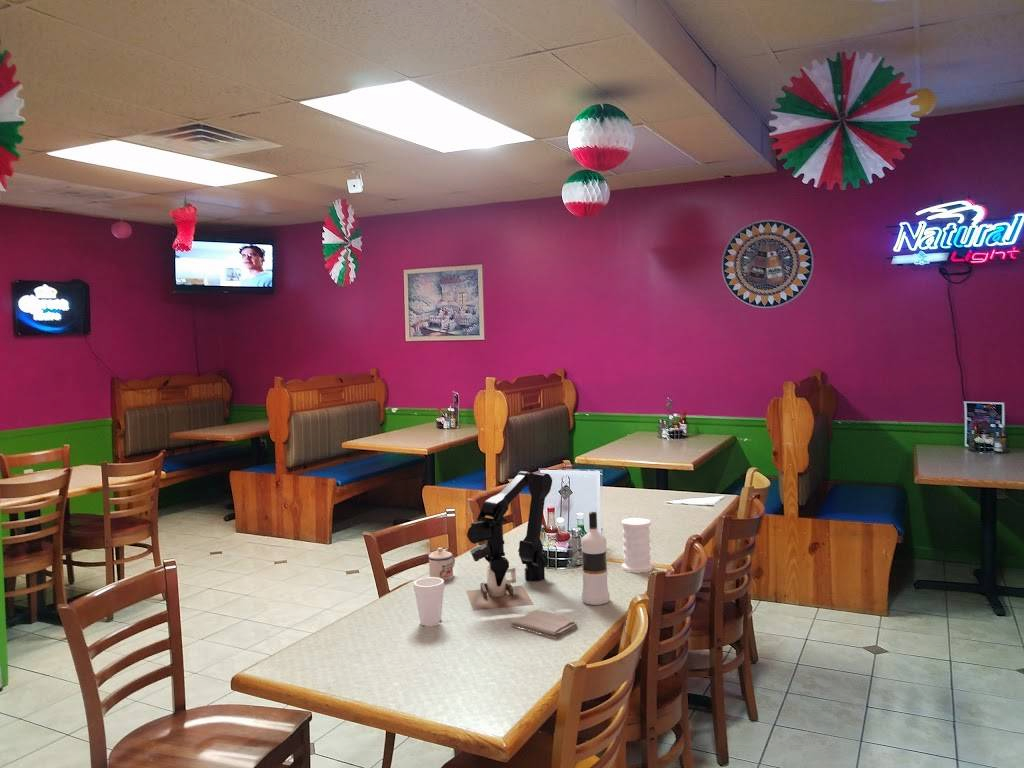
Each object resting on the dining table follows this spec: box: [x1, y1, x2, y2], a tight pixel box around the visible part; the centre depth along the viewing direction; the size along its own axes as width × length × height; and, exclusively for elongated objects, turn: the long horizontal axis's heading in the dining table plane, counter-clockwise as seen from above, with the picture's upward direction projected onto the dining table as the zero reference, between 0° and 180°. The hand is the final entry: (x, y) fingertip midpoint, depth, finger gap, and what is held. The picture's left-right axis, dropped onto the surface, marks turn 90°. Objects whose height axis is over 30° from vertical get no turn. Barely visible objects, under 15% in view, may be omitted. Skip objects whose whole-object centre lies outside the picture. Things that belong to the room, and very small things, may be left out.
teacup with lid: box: [427, 547, 456, 581], centre depth 283 cm, size 12×9×12 cm
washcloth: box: [510, 609, 578, 639], centre depth 232 cm, size 12×18×3 cm, turn 51°
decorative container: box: [620, 517, 654, 573], centre depth 286 cm, size 12×12×18 cm
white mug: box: [486, 566, 517, 597], centre depth 261 cm, size 10×6×9 cm, turn 100°
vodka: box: [580, 511, 611, 606], centre depth 252 cm, size 9×9×30 cm
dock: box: [466, 582, 534, 611], centre depth 257 cm, size 20×20×4 cm
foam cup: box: [413, 576, 445, 627], centre depth 239 cm, size 10×9×13 cm
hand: (496, 581), depth 261 cm, fingers open, 9 cm apart
